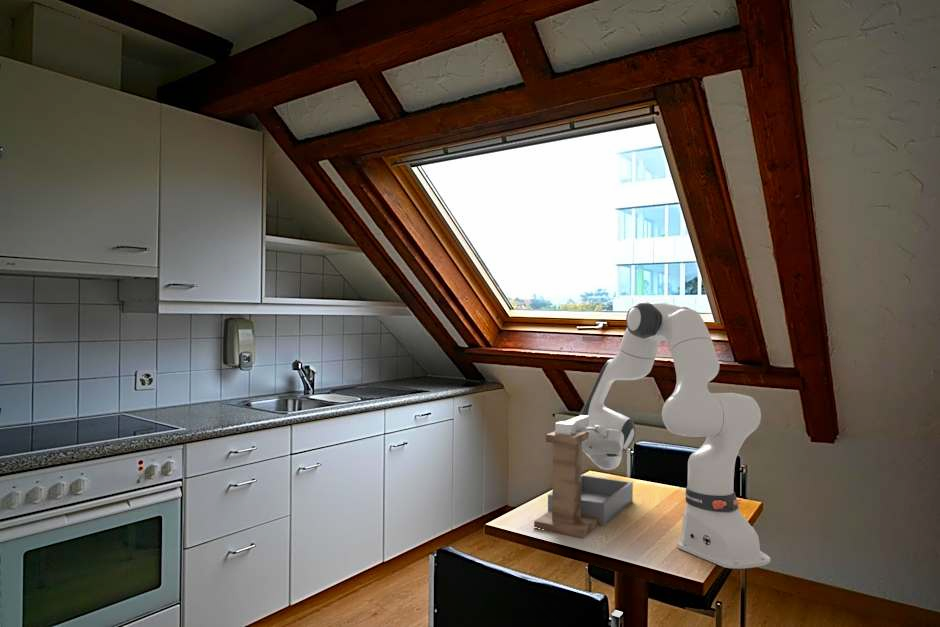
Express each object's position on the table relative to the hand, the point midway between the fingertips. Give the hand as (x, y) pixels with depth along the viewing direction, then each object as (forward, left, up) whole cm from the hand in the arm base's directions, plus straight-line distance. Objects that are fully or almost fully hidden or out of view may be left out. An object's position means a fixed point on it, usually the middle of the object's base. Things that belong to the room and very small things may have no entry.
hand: (581, 426), depth 184 cm
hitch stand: (-7, +8, -26) cm, 28 cm away
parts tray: (+6, -7, -26) cm, 28 cm away
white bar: (-3, +4, 0) cm, 5 cm away
